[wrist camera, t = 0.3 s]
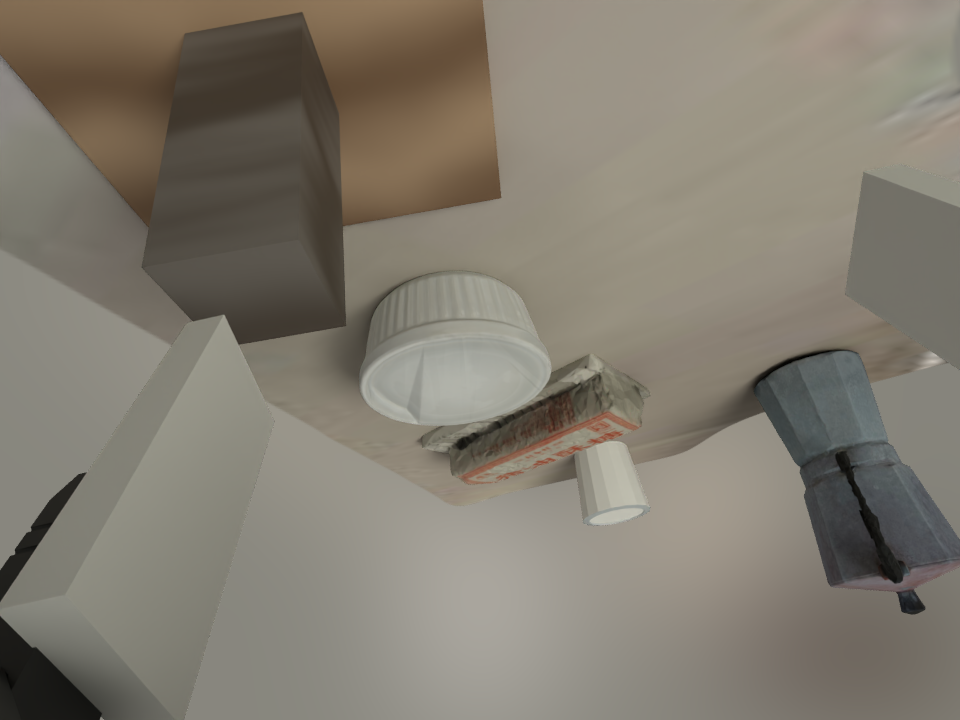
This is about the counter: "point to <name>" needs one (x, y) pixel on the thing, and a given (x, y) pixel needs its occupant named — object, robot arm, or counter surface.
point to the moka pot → (857, 480)
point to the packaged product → (545, 424)
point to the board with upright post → (265, 132)
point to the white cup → (609, 485)
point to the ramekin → (452, 351)
